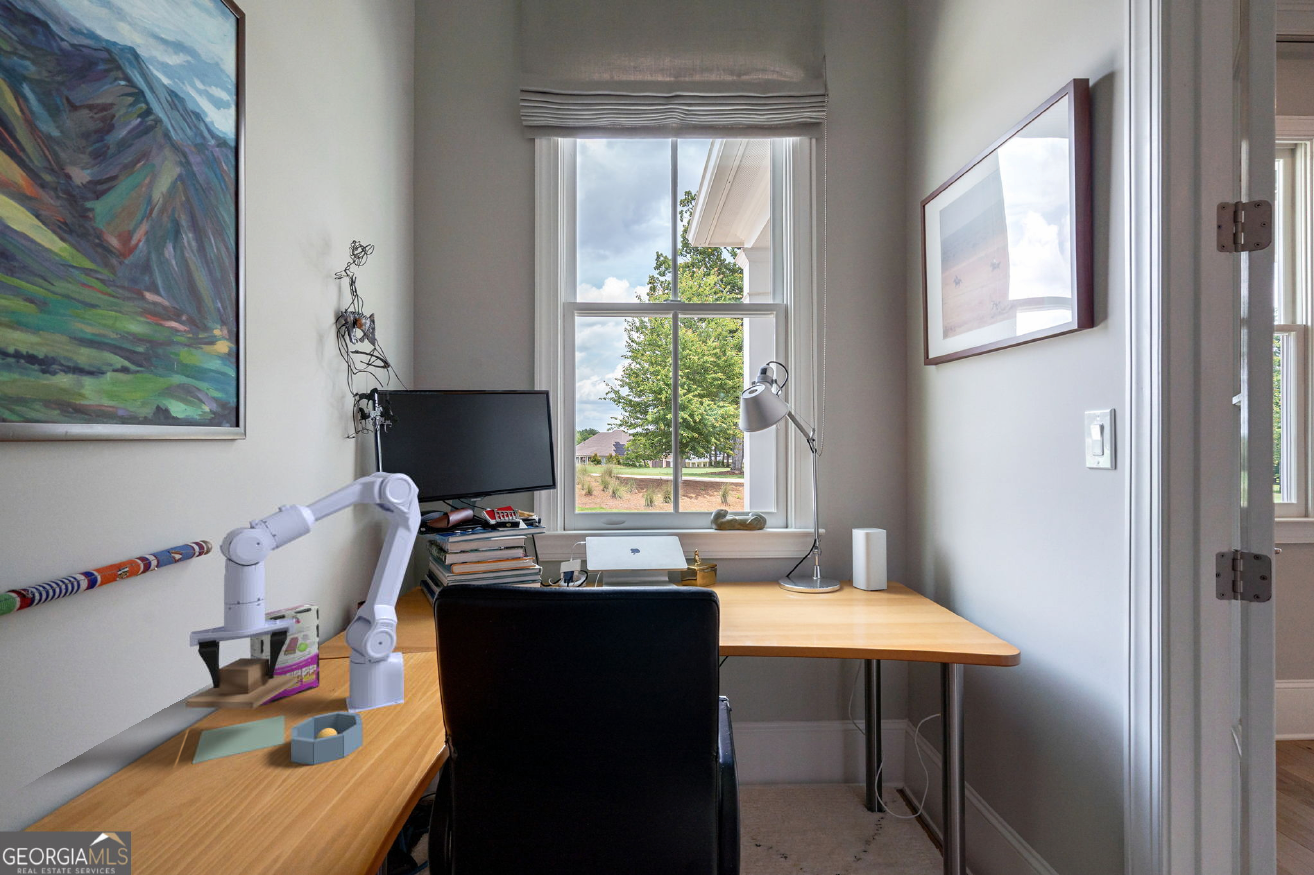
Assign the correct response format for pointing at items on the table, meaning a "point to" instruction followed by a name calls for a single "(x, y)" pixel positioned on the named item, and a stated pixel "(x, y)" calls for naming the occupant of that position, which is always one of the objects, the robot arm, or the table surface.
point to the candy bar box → (293, 649)
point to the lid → (242, 686)
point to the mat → (240, 739)
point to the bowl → (326, 738)
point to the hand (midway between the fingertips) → (244, 681)
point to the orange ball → (326, 733)
